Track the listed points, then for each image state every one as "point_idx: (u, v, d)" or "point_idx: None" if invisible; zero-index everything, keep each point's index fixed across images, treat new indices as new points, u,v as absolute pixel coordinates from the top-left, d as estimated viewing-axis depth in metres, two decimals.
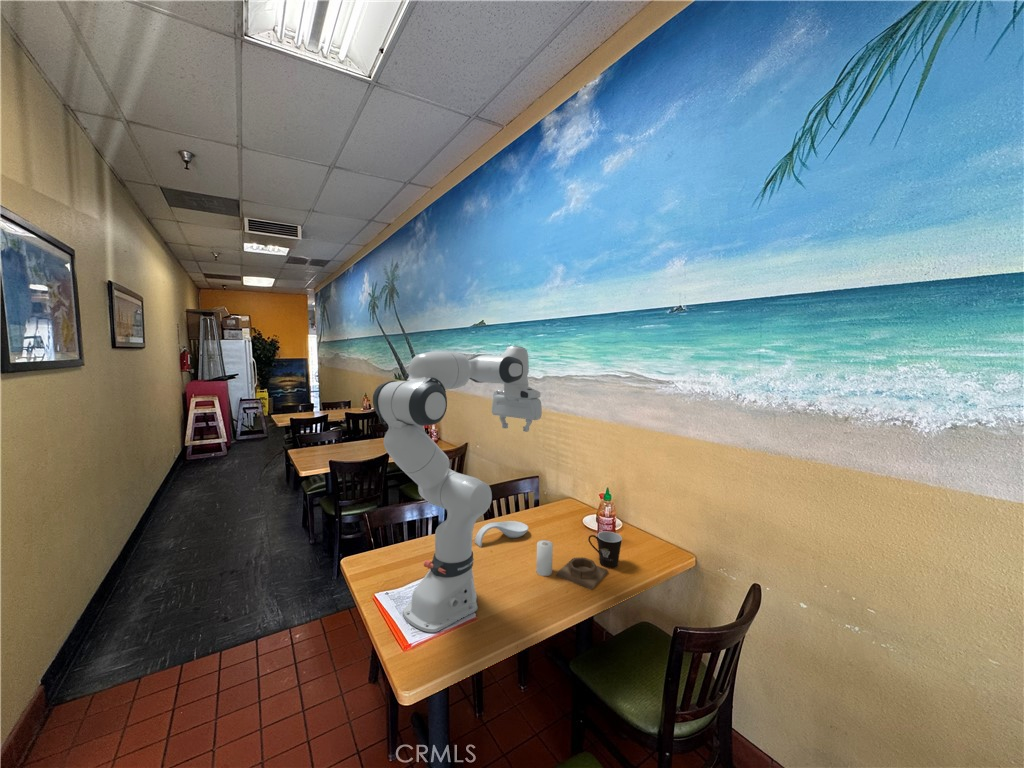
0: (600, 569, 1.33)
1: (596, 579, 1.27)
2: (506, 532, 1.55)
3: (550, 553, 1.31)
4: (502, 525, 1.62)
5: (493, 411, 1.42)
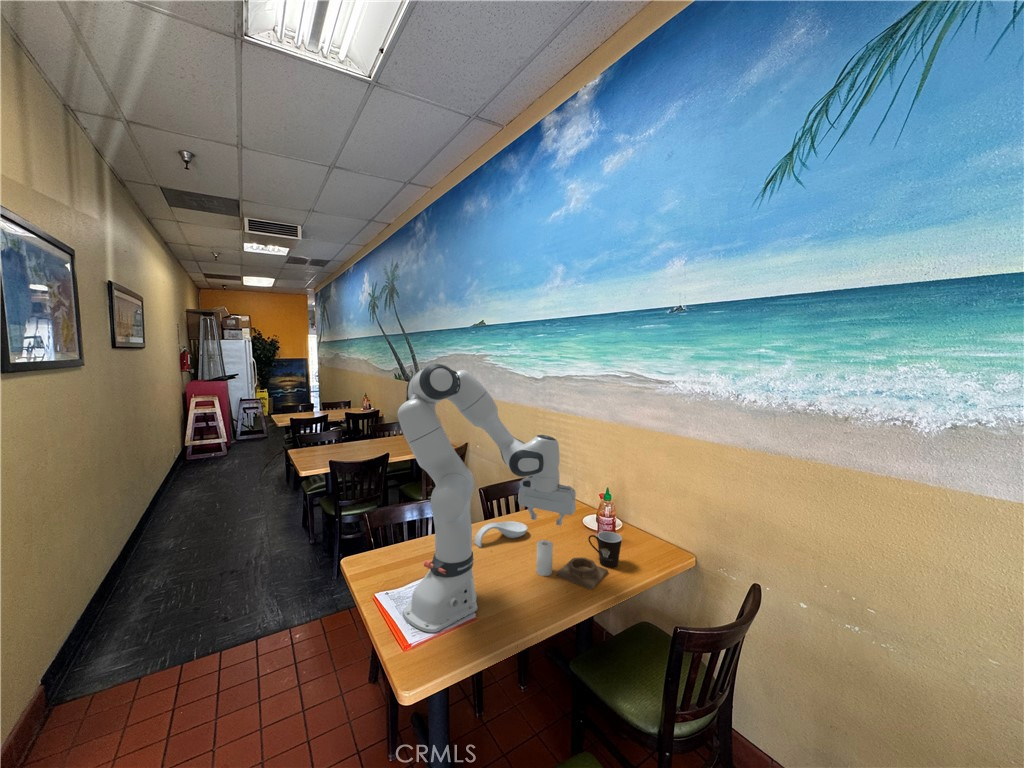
0: (600, 569, 1.33)
1: (596, 579, 1.27)
2: (505, 532, 1.55)
3: (550, 553, 1.31)
4: (501, 525, 1.62)
5: None
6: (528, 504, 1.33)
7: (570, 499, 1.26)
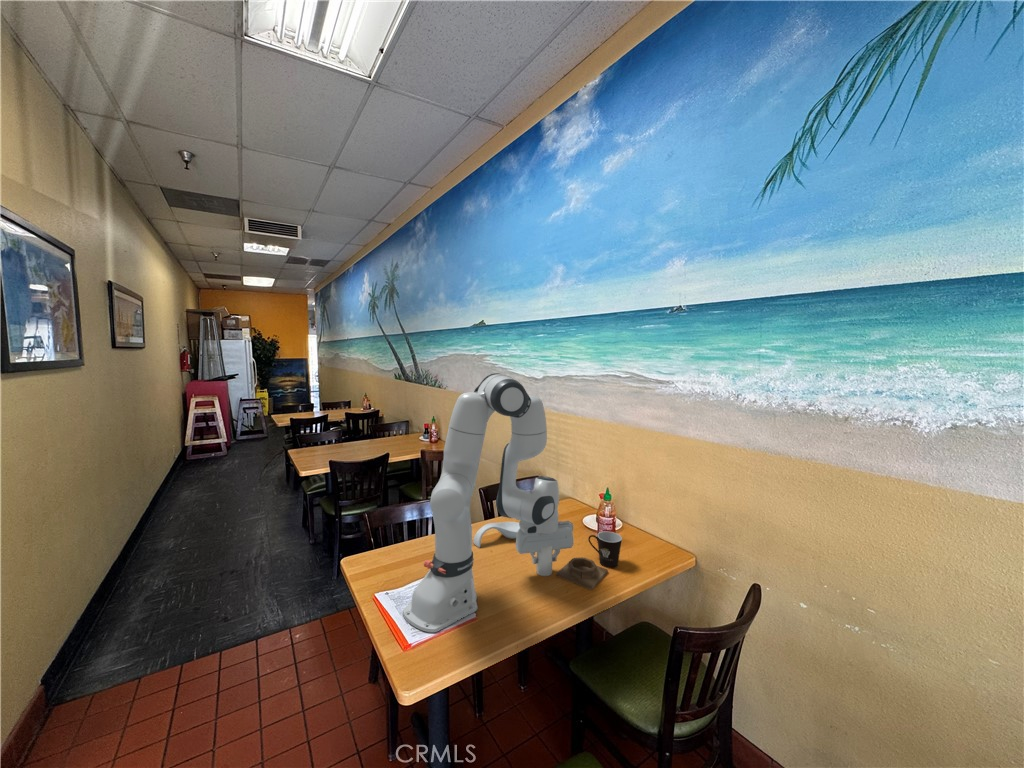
0: (600, 569, 1.33)
1: (596, 579, 1.27)
2: (505, 532, 1.55)
3: (550, 553, 1.31)
4: (501, 526, 1.61)
5: None
6: (530, 550, 1.29)
7: (572, 533, 1.33)
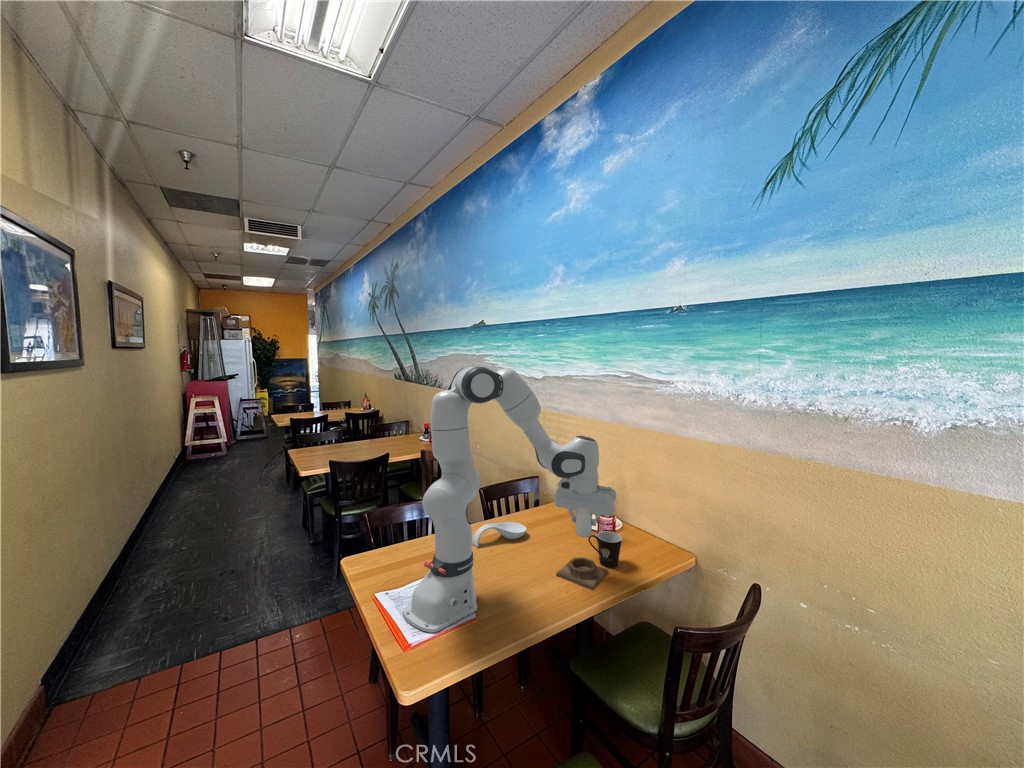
0: (600, 569, 1.33)
1: (596, 579, 1.27)
2: (503, 533, 1.54)
3: (586, 514, 1.28)
4: (500, 526, 1.61)
5: None
6: (565, 506, 1.31)
7: (611, 500, 1.25)
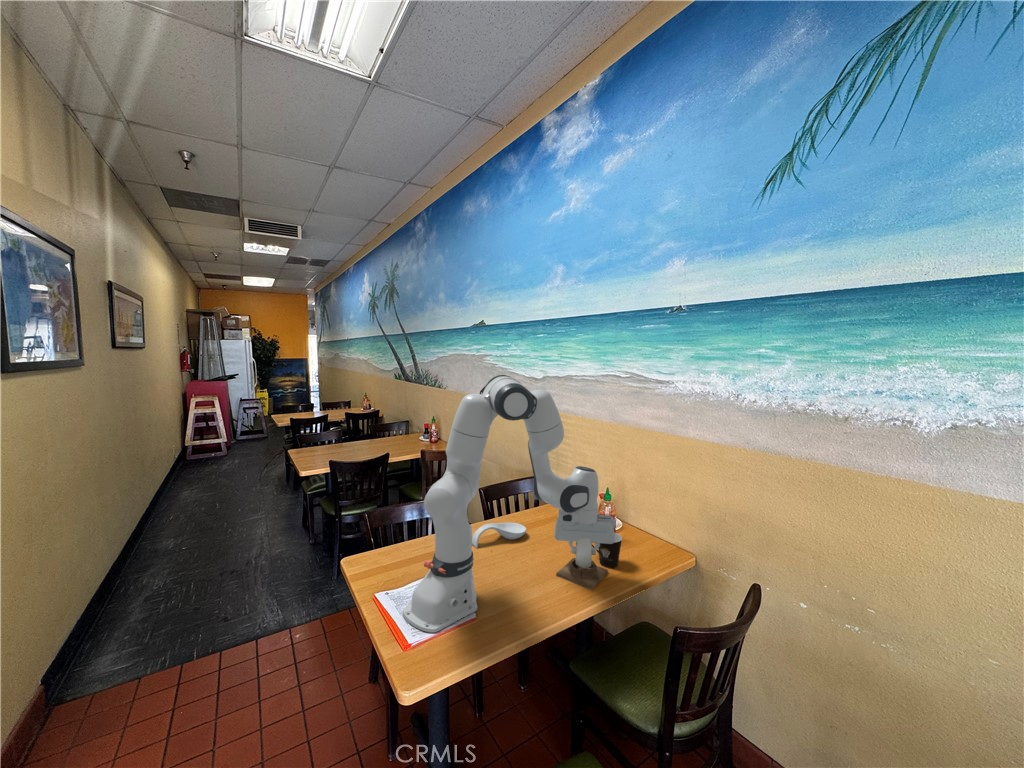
0: (600, 569, 1.33)
1: (596, 579, 1.27)
2: (503, 533, 1.54)
3: (588, 545, 1.29)
4: (500, 526, 1.61)
5: None
6: (566, 538, 1.30)
7: (612, 528, 1.28)
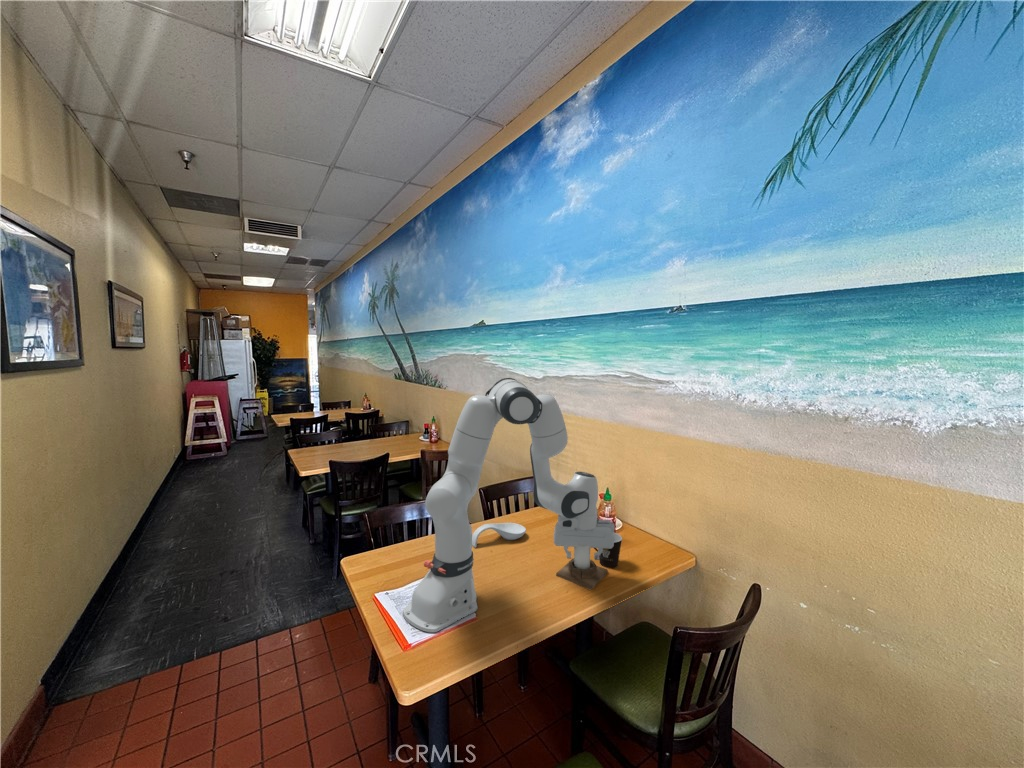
0: (600, 569, 1.33)
1: (596, 579, 1.27)
2: (502, 533, 1.54)
3: (586, 553, 1.29)
4: (500, 526, 1.61)
5: None
6: (566, 544, 1.30)
7: (611, 533, 1.29)
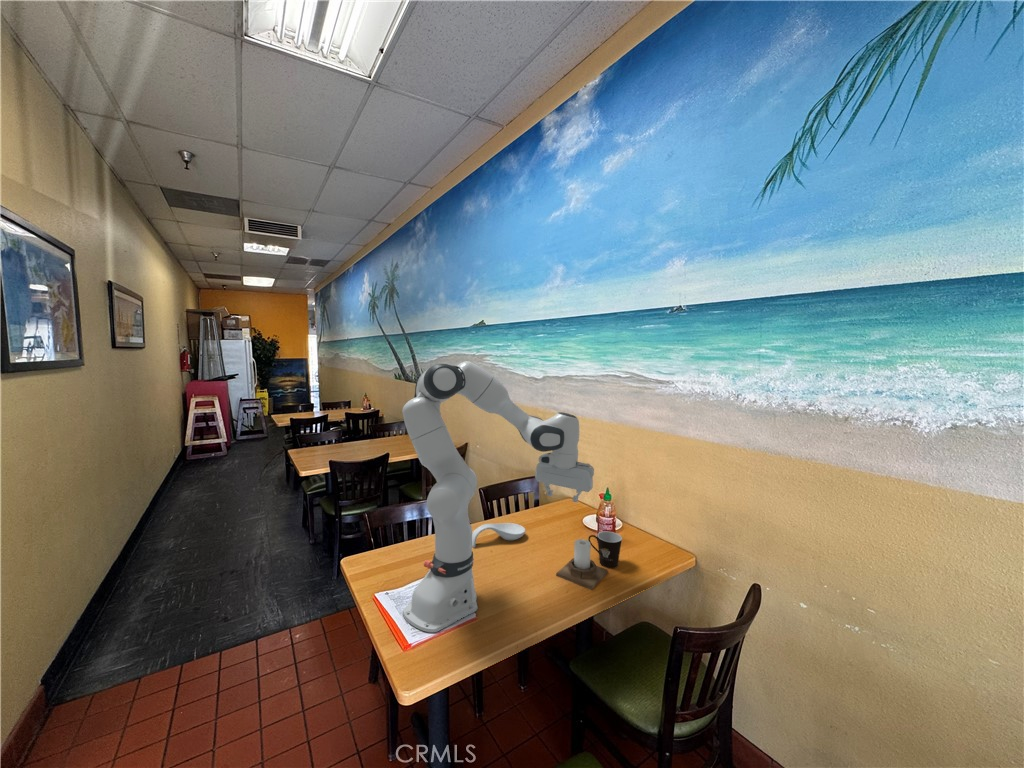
0: (600, 569, 1.33)
1: (596, 579, 1.27)
2: (501, 534, 1.54)
3: (586, 553, 1.29)
4: (499, 527, 1.60)
5: None
6: (545, 480, 1.34)
7: (588, 476, 1.27)
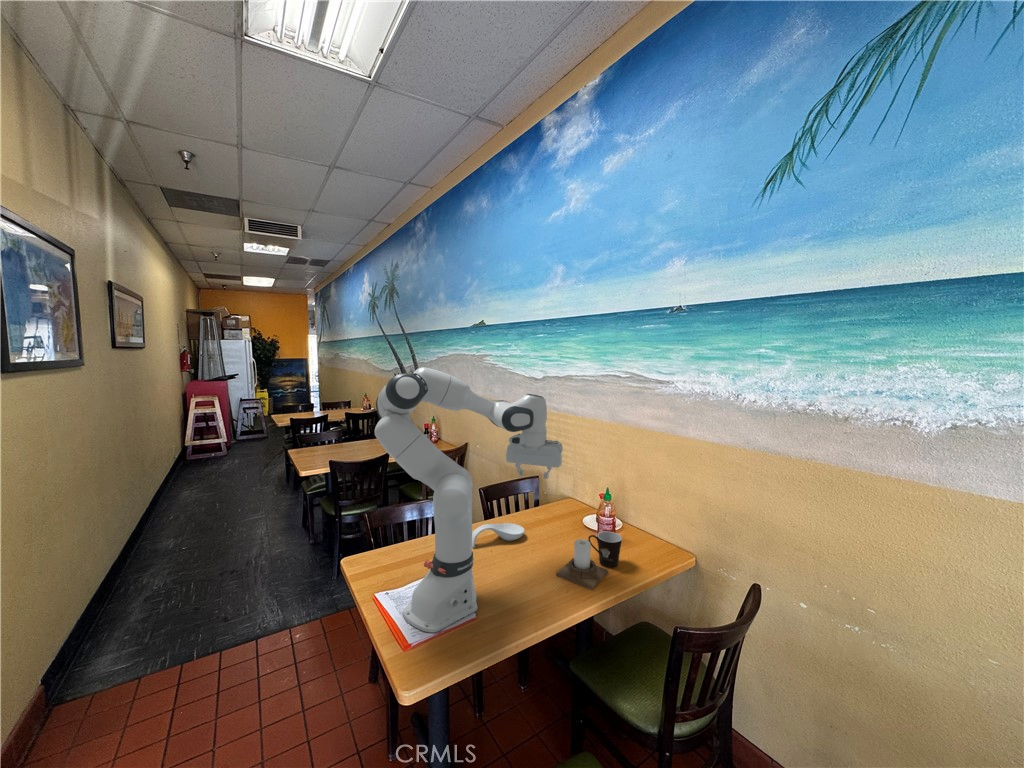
0: (600, 569, 1.33)
1: (596, 579, 1.27)
2: (500, 534, 1.53)
3: (586, 553, 1.29)
4: (498, 527, 1.60)
5: None
6: (516, 460, 1.39)
7: (558, 452, 1.34)
